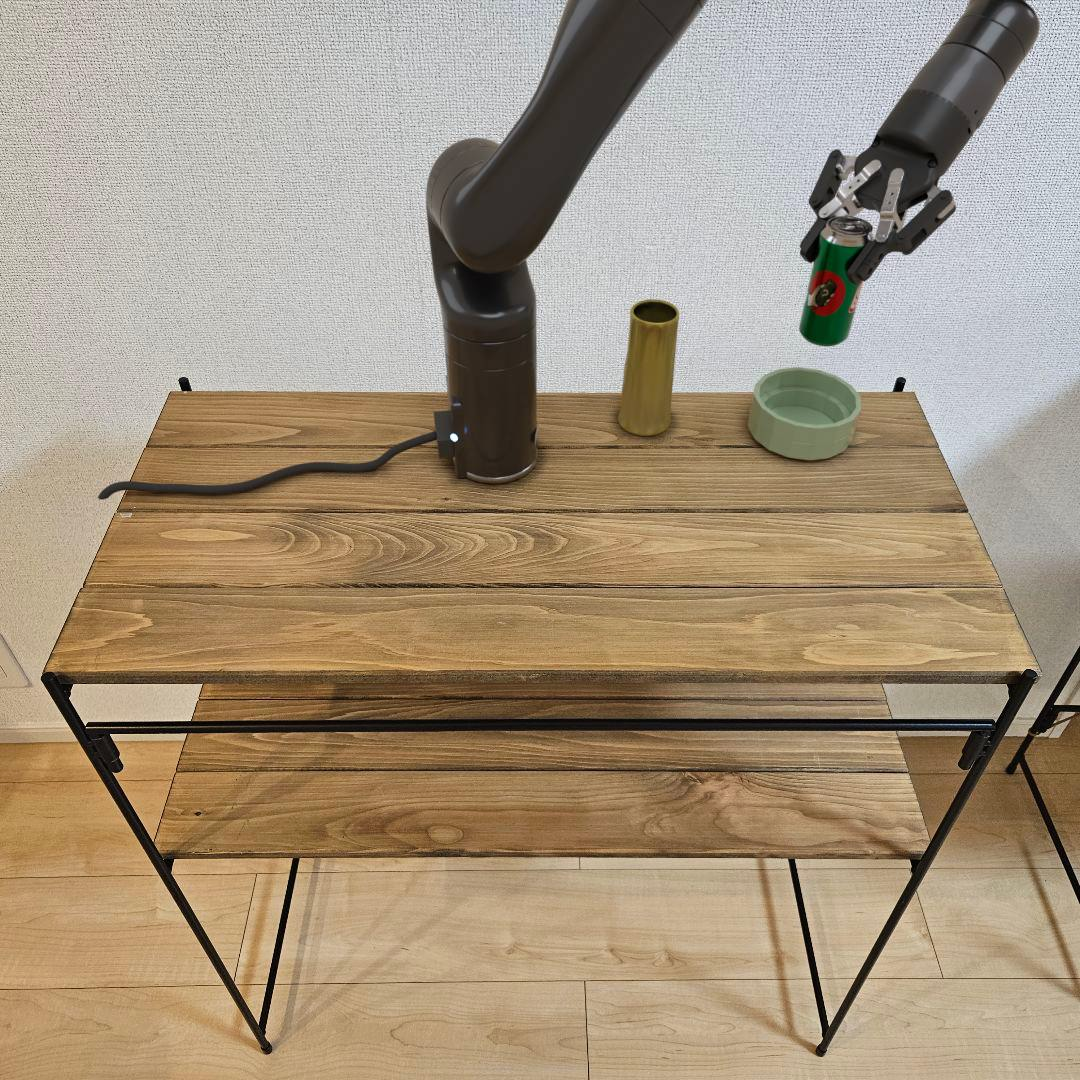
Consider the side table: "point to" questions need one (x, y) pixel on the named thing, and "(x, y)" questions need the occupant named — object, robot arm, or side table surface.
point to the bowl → (804, 413)
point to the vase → (649, 368)
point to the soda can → (834, 281)
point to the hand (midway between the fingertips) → (828, 268)
